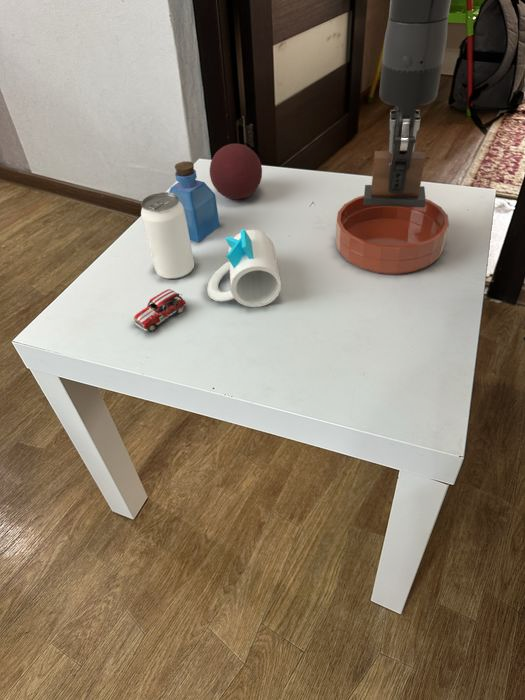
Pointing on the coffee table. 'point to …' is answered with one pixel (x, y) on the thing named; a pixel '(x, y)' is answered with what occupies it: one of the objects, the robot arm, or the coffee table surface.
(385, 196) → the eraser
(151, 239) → the can
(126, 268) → the coffee table surface
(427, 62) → the robot arm
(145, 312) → the toy car
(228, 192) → the decorative ball
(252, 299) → the mug
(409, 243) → the bowl
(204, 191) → the perfume bottle
